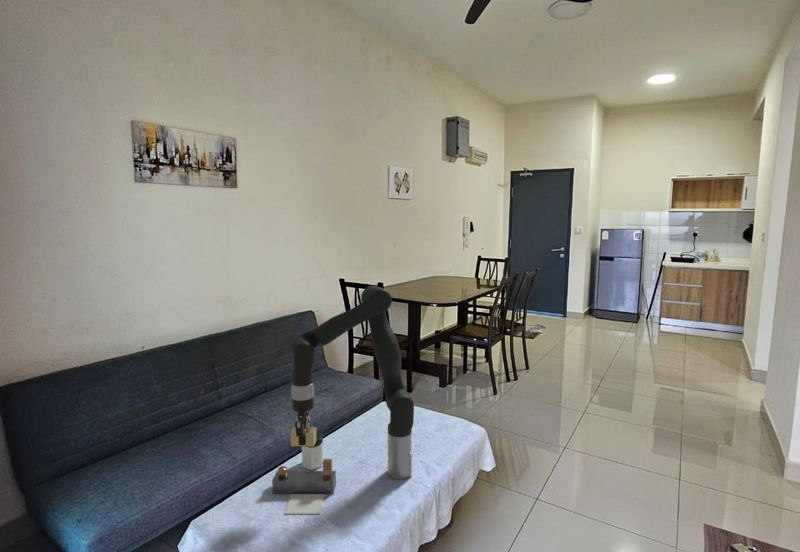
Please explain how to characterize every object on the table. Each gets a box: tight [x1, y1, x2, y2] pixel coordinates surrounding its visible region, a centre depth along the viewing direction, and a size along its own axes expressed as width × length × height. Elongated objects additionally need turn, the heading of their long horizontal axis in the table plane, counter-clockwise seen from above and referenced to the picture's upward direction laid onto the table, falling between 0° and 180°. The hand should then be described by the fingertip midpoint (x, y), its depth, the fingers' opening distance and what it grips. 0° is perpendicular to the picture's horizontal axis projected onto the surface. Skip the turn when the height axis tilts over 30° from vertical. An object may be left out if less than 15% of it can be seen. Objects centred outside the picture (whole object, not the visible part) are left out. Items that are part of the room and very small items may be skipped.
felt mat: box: [284, 494, 326, 515], centre depth 155 cm, size 12×10×1 cm
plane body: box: [271, 458, 337, 495], centre depth 163 cm, size 22×6×11 cm, turn 90°
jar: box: [301, 431, 324, 471], centre depth 179 cm, size 9×8×12 cm
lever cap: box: [290, 426, 317, 447], centre depth 156 cm, size 8×4×5 cm, turn 89°
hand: (303, 440), depth 156 cm, fingers closed on lever cap, 4 cm apart
